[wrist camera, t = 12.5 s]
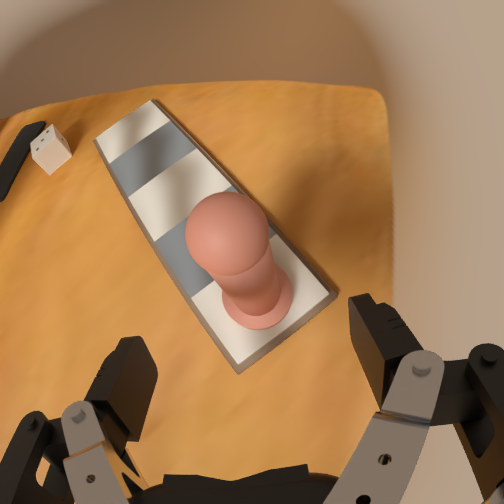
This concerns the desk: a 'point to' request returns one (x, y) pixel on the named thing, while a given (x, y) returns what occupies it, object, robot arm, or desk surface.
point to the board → (174, 223)
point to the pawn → (239, 258)
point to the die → (50, 150)
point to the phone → (17, 156)
